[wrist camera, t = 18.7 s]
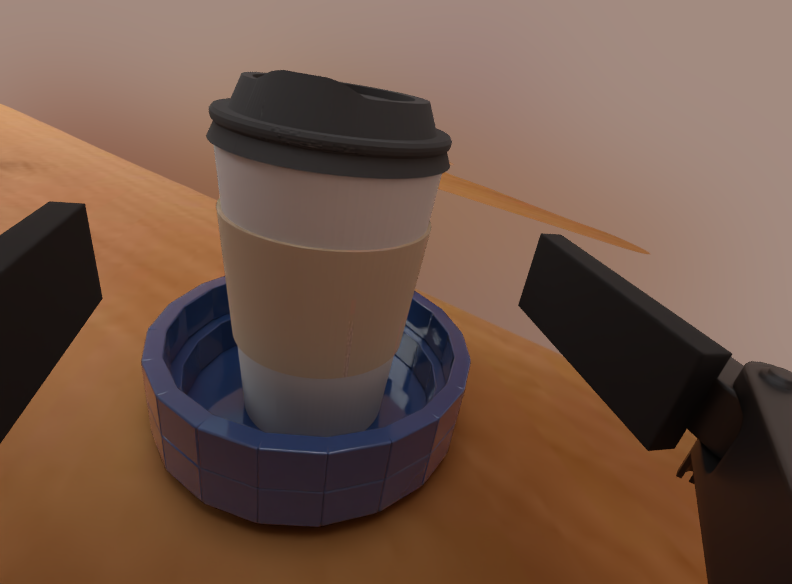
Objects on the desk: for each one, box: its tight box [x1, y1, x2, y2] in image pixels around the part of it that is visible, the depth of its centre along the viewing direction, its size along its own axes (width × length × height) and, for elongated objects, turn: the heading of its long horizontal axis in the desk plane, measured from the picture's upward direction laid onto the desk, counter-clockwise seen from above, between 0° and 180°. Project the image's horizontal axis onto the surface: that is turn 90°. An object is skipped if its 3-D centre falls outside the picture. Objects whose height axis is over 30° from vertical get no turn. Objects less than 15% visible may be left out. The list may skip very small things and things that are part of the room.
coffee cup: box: [206, 70, 452, 437], centre depth 19 cm, size 9×9×15 cm
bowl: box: [141, 276, 471, 527], centre depth 22 cm, size 15×15×4 cm
